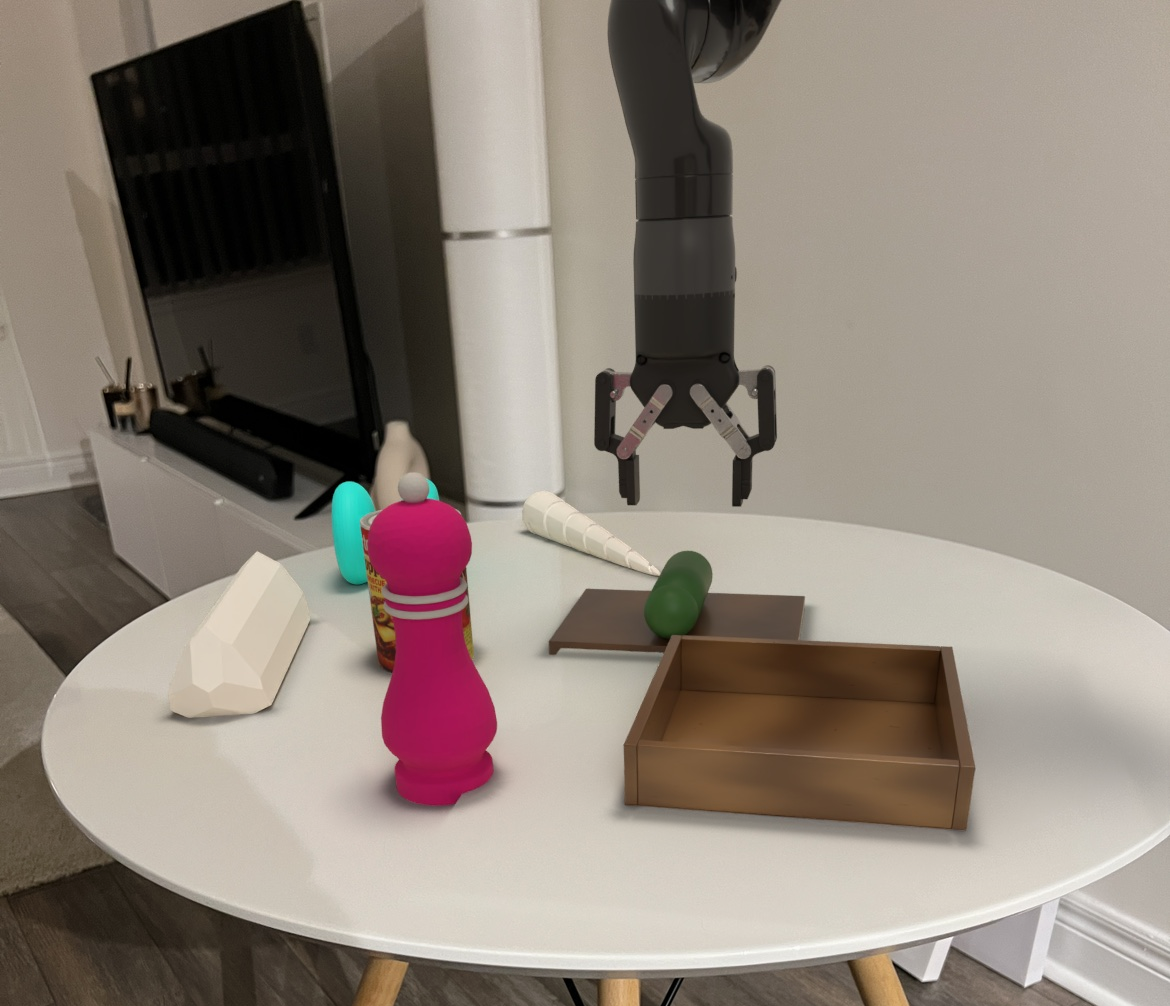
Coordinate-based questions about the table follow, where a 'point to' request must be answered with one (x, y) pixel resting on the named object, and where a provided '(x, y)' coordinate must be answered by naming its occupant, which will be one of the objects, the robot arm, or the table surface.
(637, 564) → the unicorn horn
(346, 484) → the donuts
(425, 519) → the pepper mill
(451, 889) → the table surface
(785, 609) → the cutting board
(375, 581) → the canned food
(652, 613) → the cucumber
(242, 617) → the crystal
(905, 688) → the wooden tray
